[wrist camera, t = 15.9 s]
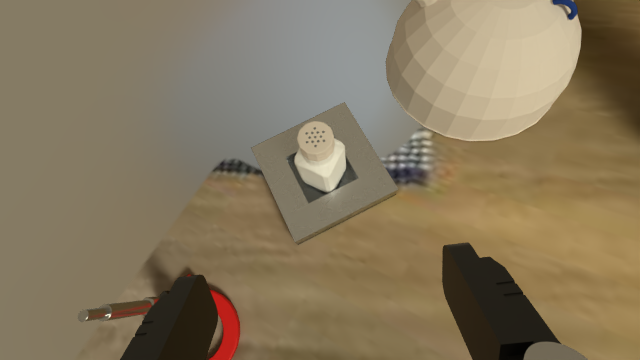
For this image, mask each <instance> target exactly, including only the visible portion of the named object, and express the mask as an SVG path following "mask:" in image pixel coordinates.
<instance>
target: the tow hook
mask: <svg viewBox="0 0 640 360" xmlns="http://www.w3.org/2000/svg"><path fill="white" fill-rule="evenodd" d="M187 276H192V275H190V274H188V275H187ZM210 291H211V294H212V296H213V299H214V301H215V304H216V306H217V310H218V315H219V316H220V318H221V320H222V324H223V333H224V335H223V339H222V343H221V345H220V347H219V349H218V351H217V352H216V353H215V355H214V356H213V357H211V358H210V359H209V360H231V358H232V357H233V355H234V353H235V351H236V348H237V346H238V342H239V337H240V322H239V318H238V315H237V311H236V310H235V308H234V306H233V305H232V303H231V302H230V301H229V300H228V299H227V298H226V297H225V296H224V295H222V294H220V293H218V292H216V291H213V290H210ZM169 292H170V291H164V292H162V294H161V295H160V296H158V297H147V298H145V299H144V300H142V301H133V302H123V303H114V304H105V305H102V306H101V307H99V308H95V309H87V310H82V311H80V313H79V315H78V319H79V321H81V322H84V321H90V320H96V319H98V320H100V321H108V320H113V319H119V318H125V317H131V316H136V315H147V313H148V311H149V309H150V308H151V307H152V306H153V305H154V304H155V303H156V302H157V301H158V300H159V299H160V298H161V297H162V296H163V295H167V294H169Z"/></svg>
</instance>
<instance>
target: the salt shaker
mask: <svg viewBox="0 0 640 360" xmlns="http://www.w3.org/2000/svg"><path fill="white" fill-rule="evenodd" d="M297 141H298V144H299V147H300V148H299V150H298V152H297V154H296V156H295V160H294V163H295V165H296V167H297V169H298V172H299V174H300V176H301V178H302V180H303V181H304V182H305V183H307V184H309V185H311V186H313V187H315V188H317V189H320V190H322V191H324V192H326V193H331V192H333V191H334V190H335V189H336V187H337V185H338V183H339V181H340V179H341V177H342V175H343V173H344V172H345V170H346V157H345V146H344V144H343V143H342V142H341V141H339V140H337V139H335V138H334V135H333V132H332V130H331V128H330V127H329V126H328V125H327V124H325V123H324V122H318V121H313V122H310V123H307V124H305V125H304V126H303V127H302V128H301V129H300V130H299V133H298V137H297Z"/></svg>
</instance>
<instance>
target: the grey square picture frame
mask: <svg viewBox="0 0 640 360" xmlns="http://www.w3.org/2000/svg"><path fill="white" fill-rule="evenodd" d="M313 121H318V122H324V123H325V124H327V125H328V126H329V127H330V128H331V130H332V132H333V135H334V138H335V139H337V140H339V141H341V142H342V143H343V144H344V146H345V157H346V170H345V172H344V173H343V175H342V177H341V179H340V181H339V183H338V185H337V187H336V189H335V190H334V191H333V192H331V193H326V192H324V191H322V190H320V189H317V188H315V187H313V186H311V185H309V184H307V183H305V182H304V181H303V180H302V178H301V176H300V174H299V172H298V169H297V167H296V165H295V163H294V160H295V156H296V154H297V152H298V150H299V148H300V147H299V144H298V141H297V137H298V133H299V130H300V129H301V128H302V127H303V126H304V125H305V124H307V123H310V122H313ZM251 149H252V151H253V153H254V155H255V157H256V159H257V161H258V163H259V166H260V168H261V170H262V172H263V174H264V177H265V179H266V181H267V183H268V185H269V187H270V190H271V192H272V194H273V196H274V198H275V200H276V203H277V205H278V207H279V209H280V211H281V213H282V216H283V218H284V220H285V222H286V224H287V226H288V229H289V231H290V233H291V235H292V237H293V239H294V241H295V243H296V244H298V245H299V244H301V243H303V242H304V241H306V240H308V239H310V238H312V237H314V236H316V235H318V234H320V233H322V232H324V231H326V230H328V229H330V228H332V227H334V226H336V225H338V224H340V223H342V222H344V221H345V220H347V219H349V218H351V217H353V216H355V215H357V214H359V213H361V212H363V211H365V210H367V209H369V208H371V207H373V206H375V205H377V204H379V203H381V202H383V201H385V200H386V199H388V198H390V197H392V196H394V195H396V193H397V191H398V188H397V187H396V185H395V183H394V182H393V180H392V178H391V177H390V175H389V174H388V172H387V170H386V169H385V167H384V165H383V164H382V162H381V161H380V159H379V157H378V156H377V154H376V152H375V151H374V149H373V148H372V146H371V144H370V143H369V141H368V139H367V138H366V136H365V135H364V133H363V131H362V130H361V128H360V126H359V125H358V123H357V121H356V120H355V118H354V117H353V115H352V113H351V112H350V110H349V108H348V107H347V105H346V104H345V102H344V103H342V104H340V105H338V106H336V107H334V108H332V109H329V110H327V111H325V112H323V113H321V114H319V115H317V116H315V117H313V118H311V119H309V120H307V121H305V122H303V123H301V124H299V125H297V126H295V127H293V128H291V129H289V130H287V131H285V132H283V133H280V134H278V135H276V136H274V137H272V138H270V139H268V140H266V141H264V142H262V143H260V144H258V145H256V146H254V147H252V148H251Z"/></svg>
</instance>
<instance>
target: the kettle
mask: <svg viewBox="0 0 640 360" xmlns="http://www.w3.org/2000/svg"><path fill="white" fill-rule="evenodd" d="M577 12H578V11H577V6H576V4H575V3H574V2H573V0H412V1H411V2H410V3H409V5H408V6H407V7H406V9H405V11H404V12H403V14H402V15H401V17H400V18H399V20H398V22H397V26H396V29H395V32H394V36H393V40H392V43H391V44H390V47H389V51H388V55H387V59H386V72H387V81H388V83H389V86H390V88H391V91H392V94H393V96H394V98H395V99H396V100H397V102H398V103H399V104H400V105H401V107H402V108H403V109H404V111H405V112H406V113H407V114H408V115H410V116H411V117H412V118H413V119H415V120H416V121H417V122H419V123H420V124H421V125H422V126H424V127H426V128H428V129H430V130H433V131H435V132H437V133H439V134H441V135H444V136H447V137H452V138H457V139H462V140H467V141H488V140H497V139H501V138H504V137H508V136H512V135H516V134H518V133H520V132H521V131H523V130H525V129H527V128H528V127H530V126H532V125H534V124H535V123H537V122H538V120H539V119H540V118H541V117H542V116H543V115H544V114H545V113H546V112H547V111H548V110H549V109H550V108H551V105H552V104H553V102H554V101H555V100H556V99H557V98H558V96H559V95H560V94H561V93H562V91H563V90H564V89H565V88H566V86H567V85H568V83H569V81H570V79H571V76H572V74H573V72H574V70H575V67H576V64H577V60H578V56H579V52H580V47H581V31H582V30H581V26H580V23H579V19H578V16H577Z"/></svg>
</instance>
